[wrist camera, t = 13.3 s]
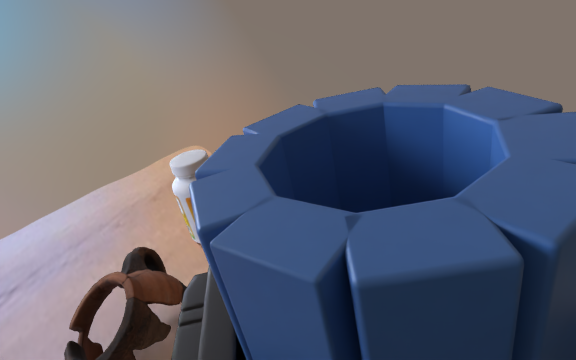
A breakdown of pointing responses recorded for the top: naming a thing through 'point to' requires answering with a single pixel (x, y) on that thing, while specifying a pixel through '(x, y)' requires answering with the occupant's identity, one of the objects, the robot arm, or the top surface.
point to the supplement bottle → (186, 184)
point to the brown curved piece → (127, 308)
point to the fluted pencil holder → (397, 227)
